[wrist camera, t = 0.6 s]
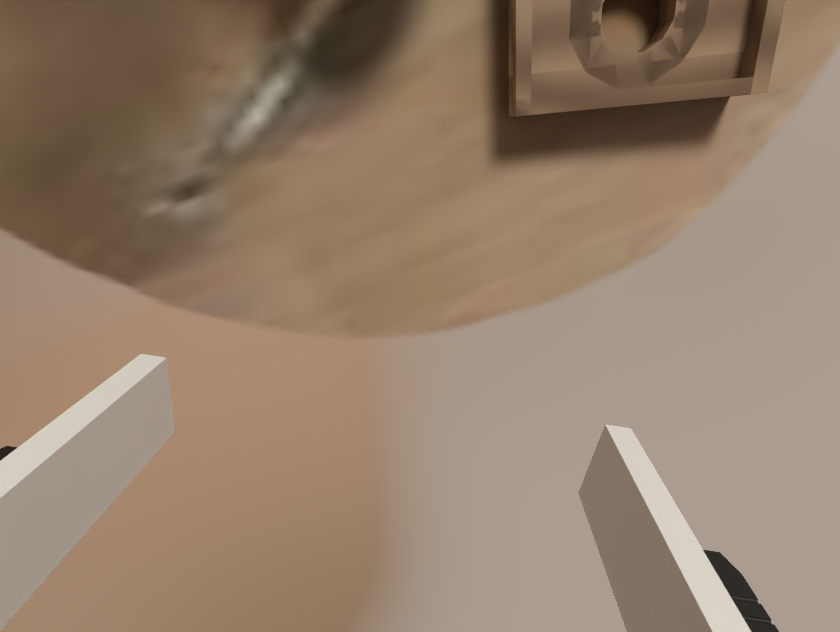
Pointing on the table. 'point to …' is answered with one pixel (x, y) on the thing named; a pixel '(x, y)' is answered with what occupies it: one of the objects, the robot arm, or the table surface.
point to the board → (637, 55)
